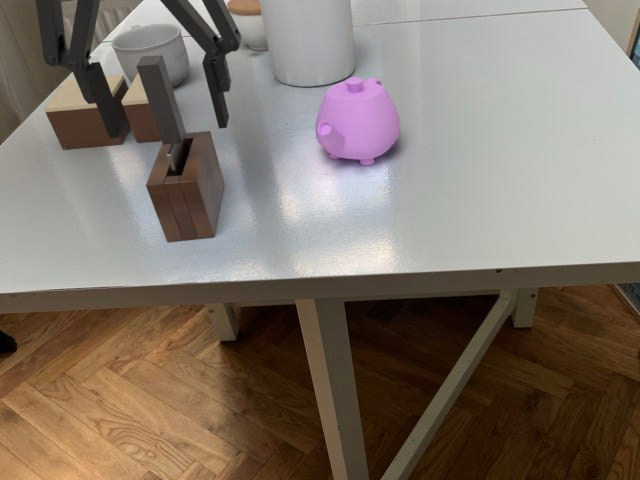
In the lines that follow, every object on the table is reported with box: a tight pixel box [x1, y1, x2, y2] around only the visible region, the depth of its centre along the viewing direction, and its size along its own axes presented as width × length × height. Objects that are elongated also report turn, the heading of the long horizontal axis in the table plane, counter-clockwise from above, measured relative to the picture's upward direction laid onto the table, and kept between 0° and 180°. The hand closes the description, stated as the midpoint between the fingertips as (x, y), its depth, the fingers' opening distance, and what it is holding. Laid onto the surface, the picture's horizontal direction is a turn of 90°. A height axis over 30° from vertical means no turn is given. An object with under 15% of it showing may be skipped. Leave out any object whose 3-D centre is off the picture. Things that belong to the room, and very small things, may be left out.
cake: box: [43, 74, 131, 151], centre depth 78 cm, size 8×10×6 cm
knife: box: [136, 55, 190, 176], centre depth 58 cm, size 7×2×17 cm, turn 6°
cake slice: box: [121, 73, 162, 144], centre depth 79 cm, size 4×10×6 cm, turn 7°
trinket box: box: [226, 0, 269, 51], centre depth 102 cm, size 11×11×9 cm
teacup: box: [110, 23, 190, 88], centre depth 91 cm, size 14×11×8 cm
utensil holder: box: [259, 0, 356, 88], centre depth 88 cm, size 15×15×18 cm
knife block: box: [145, 130, 226, 243], centre depth 61 cm, size 11×5×7 cm, turn 6°
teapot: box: [315, 76, 401, 166], centre depth 69 cm, size 10×15×9 cm
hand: (170, 127), depth 56 cm, fingers open, 10 cm apart
